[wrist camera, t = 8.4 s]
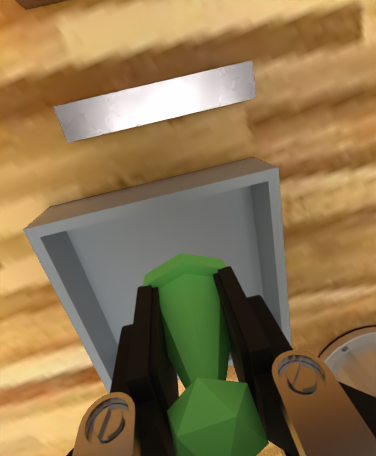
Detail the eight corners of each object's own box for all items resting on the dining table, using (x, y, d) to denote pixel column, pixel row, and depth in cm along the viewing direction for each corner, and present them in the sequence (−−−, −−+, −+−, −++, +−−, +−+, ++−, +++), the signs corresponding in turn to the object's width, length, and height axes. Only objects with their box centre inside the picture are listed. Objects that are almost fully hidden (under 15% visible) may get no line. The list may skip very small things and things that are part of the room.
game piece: (124, 264, 10) (80, 447, 4) (236, 241, 10) (332, 391, 4) (149, 348, 12) (141, 557, 6) (245, 327, 12) (324, 514, 6)
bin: (253, 157, 23) (278, 167, 18) (270, 314, 30) (291, 349, 26) (49, 206, 22) (23, 229, 18) (117, 354, 30) (110, 397, 25)
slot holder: (226, -87, 17) (235, -111, 15) (247, 99, 21) (256, 98, 19) (8, -39, 16) (-11, -58, 14) (75, 140, 21) (67, 142, 19)
